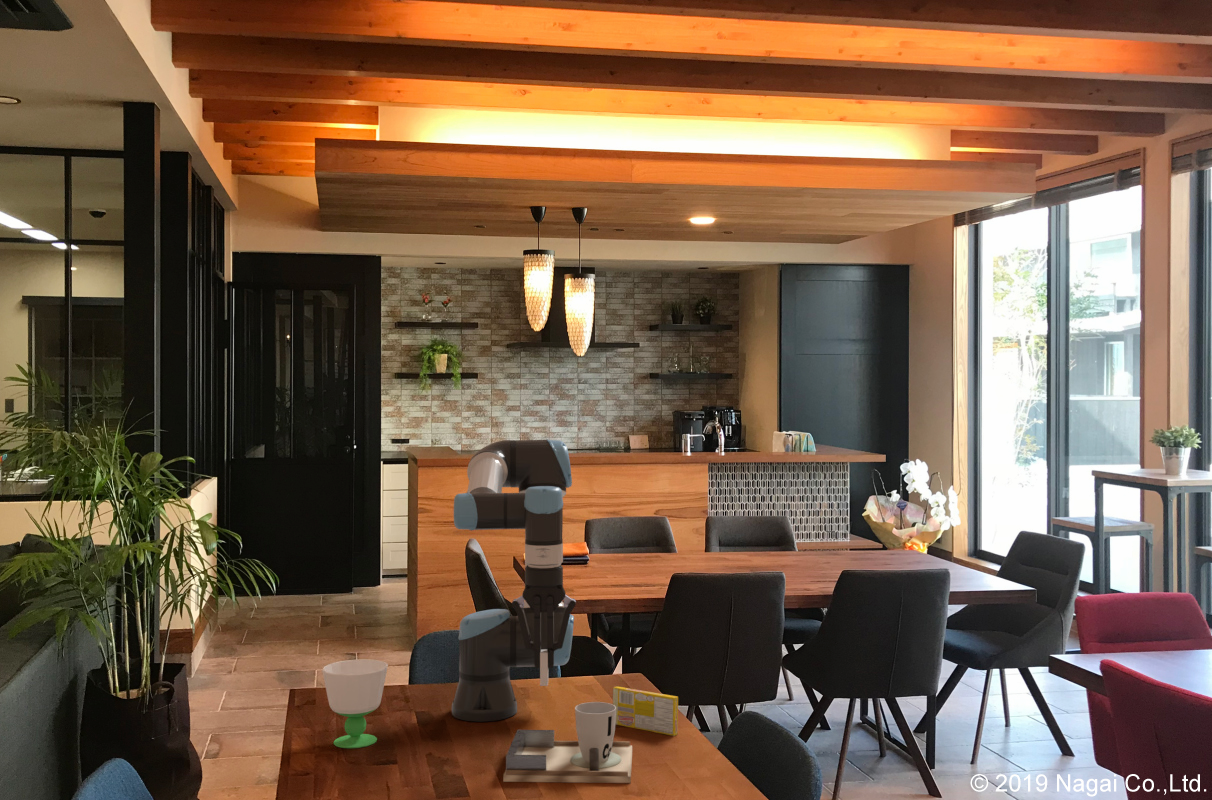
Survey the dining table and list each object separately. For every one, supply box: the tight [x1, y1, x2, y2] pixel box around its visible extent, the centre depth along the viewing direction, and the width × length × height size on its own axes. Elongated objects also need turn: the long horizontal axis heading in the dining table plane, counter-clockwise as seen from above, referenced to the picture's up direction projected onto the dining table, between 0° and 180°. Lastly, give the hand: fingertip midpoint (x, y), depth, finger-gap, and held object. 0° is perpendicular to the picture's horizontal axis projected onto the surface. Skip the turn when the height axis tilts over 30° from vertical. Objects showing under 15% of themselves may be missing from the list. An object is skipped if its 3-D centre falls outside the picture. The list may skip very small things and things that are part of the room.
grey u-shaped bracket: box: [505, 729, 555, 770], centre depth 198 cm, size 8×16×3 cm, turn 178°
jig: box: [502, 740, 633, 784], centre depth 198 cm, size 24×18×5 cm
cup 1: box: [321, 658, 389, 749], centre depth 214 cm, size 14×14×16 cm
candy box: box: [612, 686, 679, 737], centre depth 222 cm, size 16×2×8 cm, turn 55°
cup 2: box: [574, 701, 616, 763], centre depth 198 cm, size 8×8×10 cm
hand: (544, 683), depth 199 cm, fingers closed
